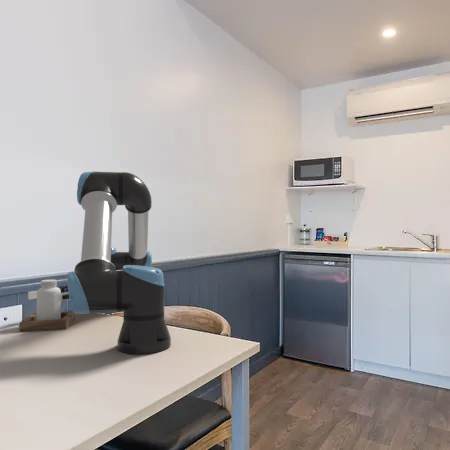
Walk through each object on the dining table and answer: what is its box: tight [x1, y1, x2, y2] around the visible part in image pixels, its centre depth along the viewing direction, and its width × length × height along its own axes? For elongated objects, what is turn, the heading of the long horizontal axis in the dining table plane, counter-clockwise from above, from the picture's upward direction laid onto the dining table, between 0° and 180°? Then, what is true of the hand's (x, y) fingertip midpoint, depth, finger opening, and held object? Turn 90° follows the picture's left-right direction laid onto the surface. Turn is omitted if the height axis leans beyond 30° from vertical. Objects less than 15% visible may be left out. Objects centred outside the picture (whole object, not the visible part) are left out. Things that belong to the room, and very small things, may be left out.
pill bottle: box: [36, 279, 62, 321], centre depth 145 cm, size 8×8×15 cm
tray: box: [18, 311, 76, 333], centre depth 145 cm, size 15×15×3 cm
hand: (40, 297), depth 142 cm, fingers open, 13 cm apart
